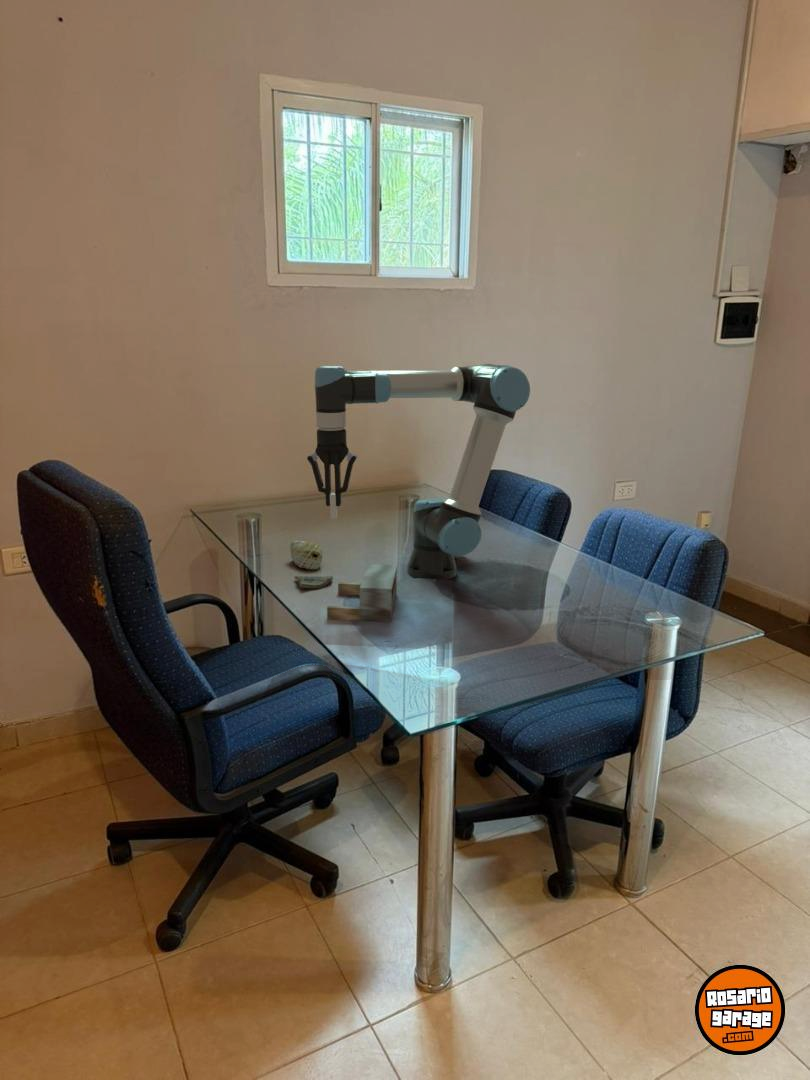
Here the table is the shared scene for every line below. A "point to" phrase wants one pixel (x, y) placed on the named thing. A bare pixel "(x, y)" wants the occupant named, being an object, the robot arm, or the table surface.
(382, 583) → the seat fixture
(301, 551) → the seashell
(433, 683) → the table surface
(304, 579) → the ceramic fragment
